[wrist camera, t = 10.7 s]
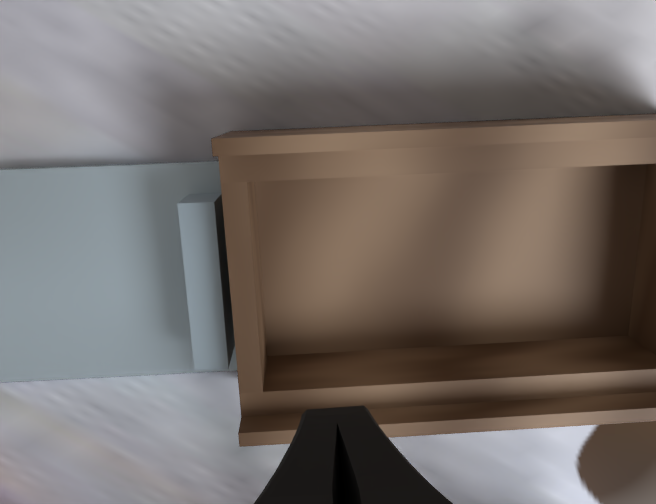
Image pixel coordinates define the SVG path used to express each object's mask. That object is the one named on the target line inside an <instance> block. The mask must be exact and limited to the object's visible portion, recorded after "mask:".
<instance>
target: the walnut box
mask: <svg viewBox="0 0 656 504" xmlns="http://www.w3.org/2000/svg"><path fill="white" fill-rule="evenodd" d="M211 142H212V153H213V156H218V160H219V171H220V182H221V193H222V204H223V215H224V227H225V238H226V249H227V260H228V271H229V282H230V294H231V305H232V316H233V327H234V338H235V349H236V360H237V372H238V383H239V394H240V405H241V416H242V417H241V422H240V427H239V433H238V435H239V446H240V447H242V446H258V445H274V444H291V442H292V440H293V437H294V435H295V433H296V431H297V428H298V426H299V423H300V420H301V416H302V414H303V413H304V412H305V411H306V410H307V409H321V408H335V407H349V406H363V405H364V406H365V407H366V408H367V409H368V410H369V411H370V413H371V415H372V416H373V418H374V419H375V421H376V422H377V424H378V425H379V427H380V428H381V429H382V431H383V432H384V433H385V435H386V436H387V437H404V436H420V435H436V434H452V433H468V432H485V431H501V430H517V429H533V428H549V427H565V426H581V425H598V424H614V423H630V422H646V421H656V114H634V115H610V116H586V117H562V118H539V119H515V120H491V121H467V122H443V123H419V124H395V125H371V126H347V127H323V128H300V129H276V130H252V131H230V132H228V133H225V134H222V135H220V136H217V137H214V138H212V139H211Z"/></svg>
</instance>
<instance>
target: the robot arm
mask: <svg viewBox="0 0 656 504" xmlns="http://www.w3.org/2000/svg"><path fill="white" fill-rule="evenodd" d="M254 504H453V503H451V502H450V501H449V500H448V499H446V498H445V497H444V496H443V495H442V494H441V493H440V492H438V491H437V490H436V489H435V488H434V487H433V486H432V485H431V484H430V483H429V482H428V481H427V480H426V479H425V478H424V477H423V476H422V475H421V474H420V473H419V472H418V471H417V470H416V469H415V468H414V467H413V466H412V465H411V464H410V463H409V462H408V461H407V460H406V458H405V457H404V456H403V455H402V454H401V453H400V452H399V450H398V449H397V448H396V447H395V446H394V445H393V443H392V442H391V441H390V440H389V438H388V437H387V436H386V435H385V433H384V432H383V431H382V429H381V428H380V427H379V425H378V424H377V422H376V421H375V419H374V418H373V416H372V415H371V413H370V411H369V410H368V409H367V408H366V407H365V406H364V405H363V406H349V407H335V408H321V409H307V410H306V411H305V412H304V413H303V414H302V416H301V420H300V423H299V426H298V428H297V431H296V433H295V435H294V437H293V440H292V442H291V444H290V446H289V448H288V450H287V452H286V453H285V455H284V457H283V459H282V461H281V463H280V465H279V466H278V468H277V470H276V471H275V473H274V475H273V476H272V478H271V479H270V481H269V482H268V484H267V485H266V487H265V489H264V490H263V492H262V493H261V495H260V496H259V497H258V499H257V500H256V502H255V503H254Z"/></svg>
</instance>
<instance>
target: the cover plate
mask: <svg viewBox="0 0 656 504" xmlns="http://www.w3.org/2000/svg"><path fill="white" fill-rule="evenodd" d="M220 371H237V360H236V349H235V338H234V327H233V316H232V305H231V294H230V282H229V271H228V260H227V249H226V238H225V227H224V215H223V204H222V193H221V182H220V171H219V161H207V162H180V163H152V164H125V165H97V166H70V167H42V168H15V169H0V383H6V382H25V381H45V380H64V379H84V378H103V377H123V376H142V375H162V374H181V373H201V372H220Z"/></svg>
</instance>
